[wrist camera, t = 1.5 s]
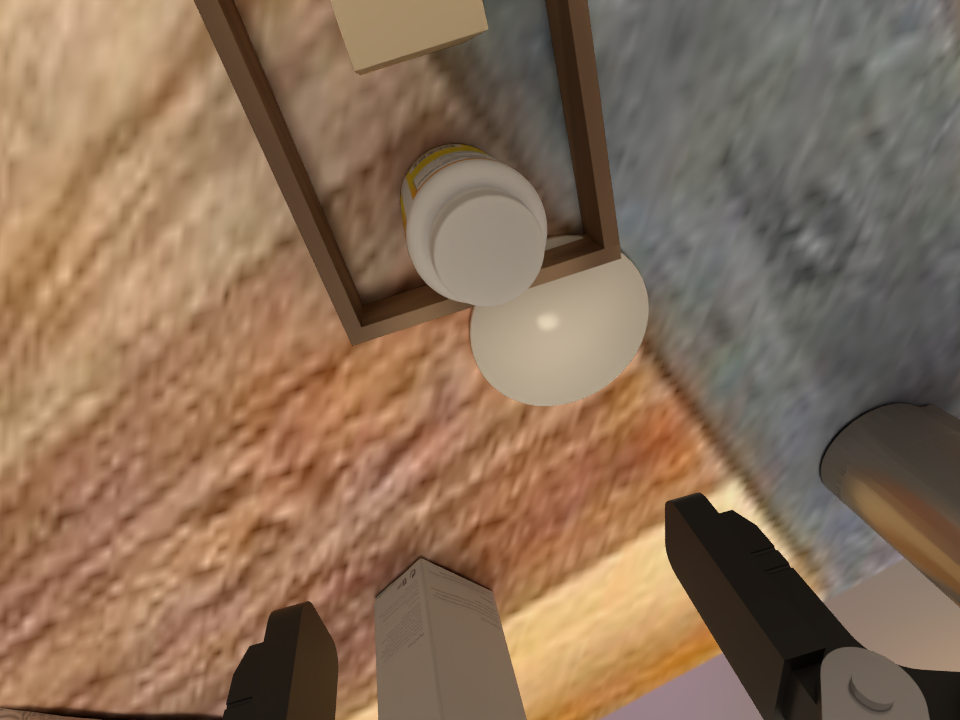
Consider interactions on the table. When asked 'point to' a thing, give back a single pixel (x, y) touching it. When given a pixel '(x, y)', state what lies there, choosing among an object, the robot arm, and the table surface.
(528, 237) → the supplement bottle
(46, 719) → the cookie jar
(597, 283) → the coaster
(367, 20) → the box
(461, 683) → the skincare box
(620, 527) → the table surface
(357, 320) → the wooden frame
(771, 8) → the table surface
